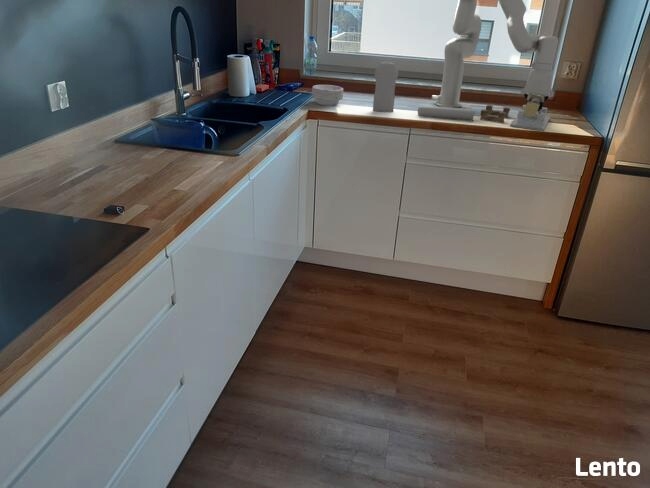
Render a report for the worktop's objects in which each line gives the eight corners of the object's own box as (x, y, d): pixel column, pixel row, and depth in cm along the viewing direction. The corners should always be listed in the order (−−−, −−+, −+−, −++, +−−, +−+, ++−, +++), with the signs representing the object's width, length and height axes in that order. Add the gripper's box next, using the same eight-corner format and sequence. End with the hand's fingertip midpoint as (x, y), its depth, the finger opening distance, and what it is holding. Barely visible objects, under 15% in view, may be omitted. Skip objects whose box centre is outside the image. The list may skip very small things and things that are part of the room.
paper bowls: (348, 103, 251) (349, 86, 247) (332, 108, 240) (332, 91, 236) (322, 99, 258) (323, 82, 254) (305, 103, 247) (305, 87, 243)
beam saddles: (479, 119, 231) (481, 110, 229) (486, 113, 243) (487, 104, 241) (503, 122, 227) (504, 113, 225) (508, 116, 239) (510, 107, 237)
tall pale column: (372, 111, 236) (376, 62, 226) (371, 109, 240) (375, 61, 230) (394, 112, 237) (399, 63, 227) (393, 110, 241) (398, 61, 230)
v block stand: (509, 126, 221) (512, 112, 218) (518, 115, 242) (521, 102, 239) (543, 131, 216) (547, 117, 213) (549, 119, 237) (552, 106, 234)
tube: (417, 108, 229) (474, 113, 224) (418, 102, 233) (474, 106, 228) (416, 119, 233) (472, 123, 228) (417, 112, 236) (472, 117, 232)
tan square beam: (523, 114, 218) (527, 102, 215) (530, 104, 237) (533, 93, 234) (535, 116, 216) (539, 105, 213) (541, 106, 235) (545, 96, 233)
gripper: (521, 66, 218) (512, 109, 226) (563, 70, 212) (552, 114, 220) (523, 64, 224) (515, 106, 232) (564, 68, 218) (554, 110, 226)
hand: (533, 109), depth 226 cm, fingers closed on tan square beam, 4 cm apart
